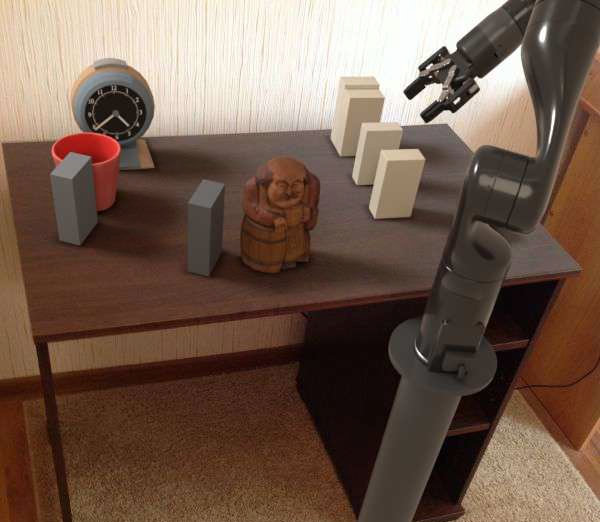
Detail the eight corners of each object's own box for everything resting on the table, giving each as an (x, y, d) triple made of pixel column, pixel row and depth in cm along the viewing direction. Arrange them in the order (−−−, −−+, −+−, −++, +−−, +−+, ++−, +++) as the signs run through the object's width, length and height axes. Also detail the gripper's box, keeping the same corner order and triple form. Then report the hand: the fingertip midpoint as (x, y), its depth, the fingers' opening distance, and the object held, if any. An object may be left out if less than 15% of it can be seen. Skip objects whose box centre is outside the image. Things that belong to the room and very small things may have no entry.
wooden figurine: (253, 279, 119) (261, 178, 106) (235, 256, 123) (242, 156, 110) (316, 263, 124) (332, 165, 111) (298, 242, 128) (311, 144, 115)
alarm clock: (80, 172, 134) (69, 74, 122) (73, 144, 141) (62, 48, 128) (160, 167, 139) (157, 72, 126) (150, 140, 145) (147, 47, 132)
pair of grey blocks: (208, 276, 119) (211, 208, 110) (59, 240, 121) (49, 170, 111) (221, 251, 123) (225, 184, 114) (78, 217, 125) (69, 148, 116)
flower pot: (52, 187, 130) (45, 134, 123) (115, 179, 134) (112, 128, 127) (65, 221, 124) (58, 168, 117) (131, 212, 128) (128, 160, 121)
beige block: (356, 185, 142) (367, 130, 134) (351, 176, 144) (361, 122, 136) (391, 183, 144) (403, 130, 136) (385, 175, 146) (397, 121, 138)
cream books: (410, 217, 137) (427, 152, 128) (374, 219, 135) (389, 154, 126) (362, 137, 155) (374, 76, 146) (330, 138, 153) (339, 76, 144)
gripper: (464, 9, 131) (390, 75, 137) (498, 44, 122) (418, 113, 128) (482, 41, 137) (410, 102, 142) (517, 76, 128) (438, 141, 133)
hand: (414, 107), depth 135 cm, fingers open, 8 cm apart
